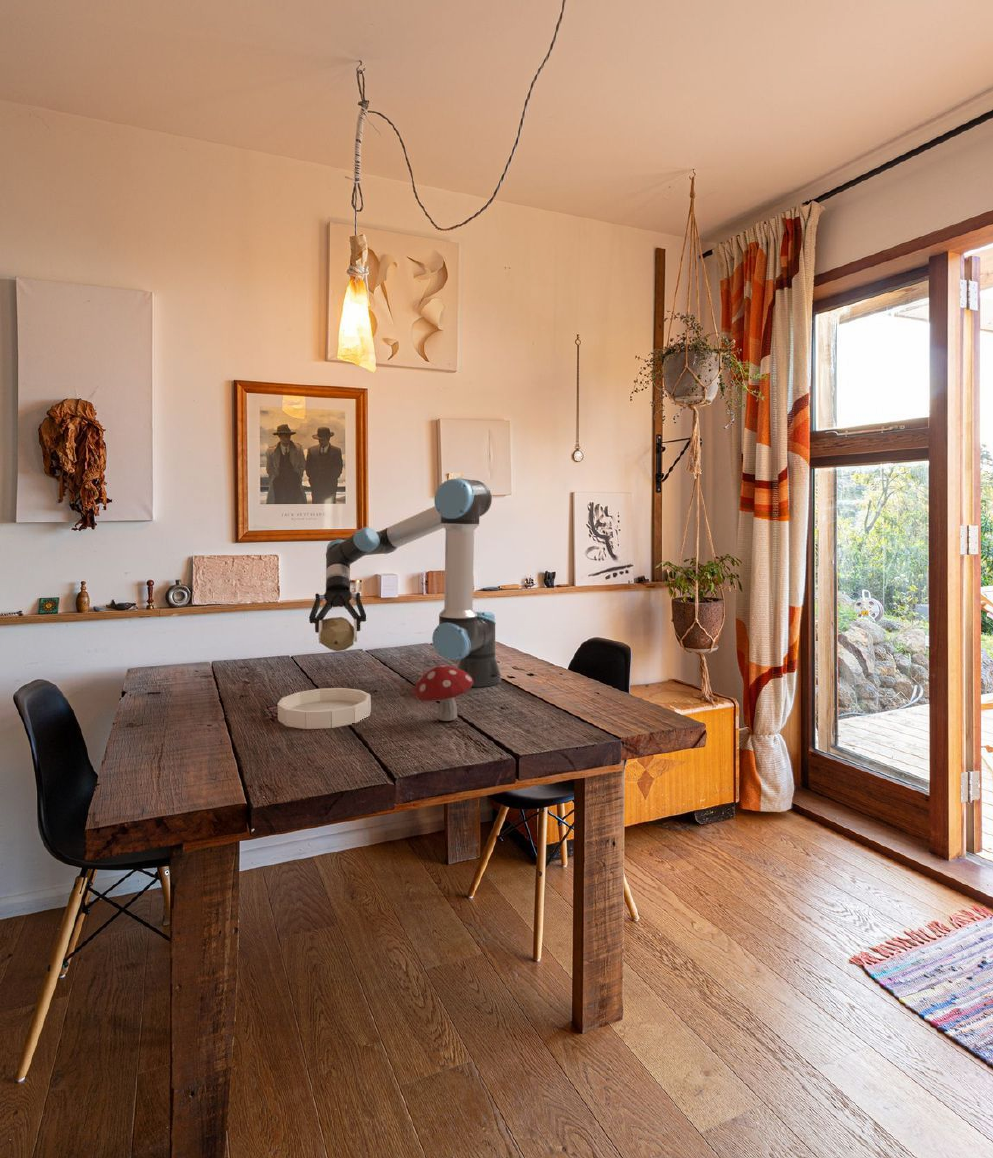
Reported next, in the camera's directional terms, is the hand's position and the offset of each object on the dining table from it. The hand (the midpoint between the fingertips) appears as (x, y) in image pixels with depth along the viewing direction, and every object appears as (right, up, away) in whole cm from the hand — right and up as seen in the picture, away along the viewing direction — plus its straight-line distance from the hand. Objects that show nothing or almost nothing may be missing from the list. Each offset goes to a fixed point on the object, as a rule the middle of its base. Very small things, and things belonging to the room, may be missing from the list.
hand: (337, 639), depth 206 cm
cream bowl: (+1, -19, -18) cm, 26 cm away
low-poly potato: (-2, -4, +3) cm, 5 cm away
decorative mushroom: (+34, -20, -25) cm, 46 cm away
